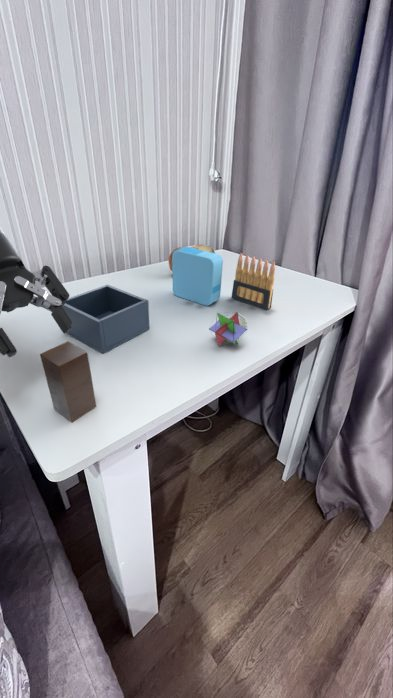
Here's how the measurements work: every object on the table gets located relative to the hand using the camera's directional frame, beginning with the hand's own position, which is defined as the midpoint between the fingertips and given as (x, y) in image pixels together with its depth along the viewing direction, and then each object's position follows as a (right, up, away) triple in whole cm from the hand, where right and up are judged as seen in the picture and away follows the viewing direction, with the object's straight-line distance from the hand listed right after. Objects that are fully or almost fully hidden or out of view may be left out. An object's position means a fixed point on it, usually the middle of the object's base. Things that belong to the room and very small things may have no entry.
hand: (42, 342), depth 48 cm
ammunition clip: (+36, +11, +37) cm, 53 cm away
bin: (+3, +3, +23) cm, 23 cm away
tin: (+21, +22, +53) cm, 61 cm away
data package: (+22, +12, +38) cm, 46 cm away
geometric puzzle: (+28, 0, +20) cm, 35 cm away
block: (+4, -10, +3) cm, 11 cm away
